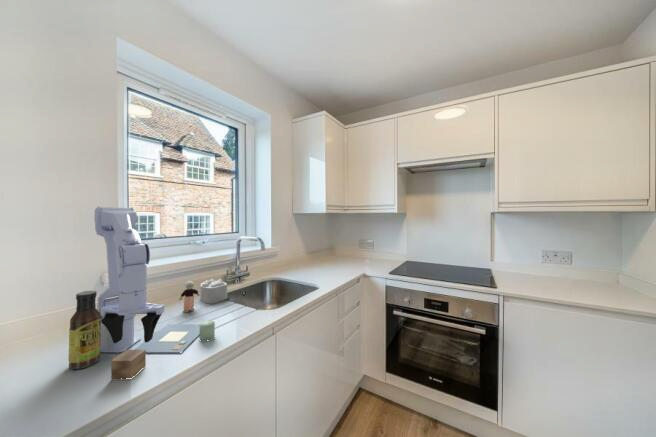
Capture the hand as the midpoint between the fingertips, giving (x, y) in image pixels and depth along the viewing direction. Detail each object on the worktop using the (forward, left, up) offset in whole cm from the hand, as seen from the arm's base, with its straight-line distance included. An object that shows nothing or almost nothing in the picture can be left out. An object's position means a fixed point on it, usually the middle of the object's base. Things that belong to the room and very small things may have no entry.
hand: (133, 340), depth 65 cm
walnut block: (-1, 0, -9) cm, 9 cm away
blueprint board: (0, +18, -9) cm, 20 cm away
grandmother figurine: (-7, +41, -9) cm, 42 cm away
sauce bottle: (-16, +4, -9) cm, 18 cm away
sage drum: (+11, +18, -9) cm, 23 cm away
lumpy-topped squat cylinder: (-4, +55, -9) cm, 56 cm away
